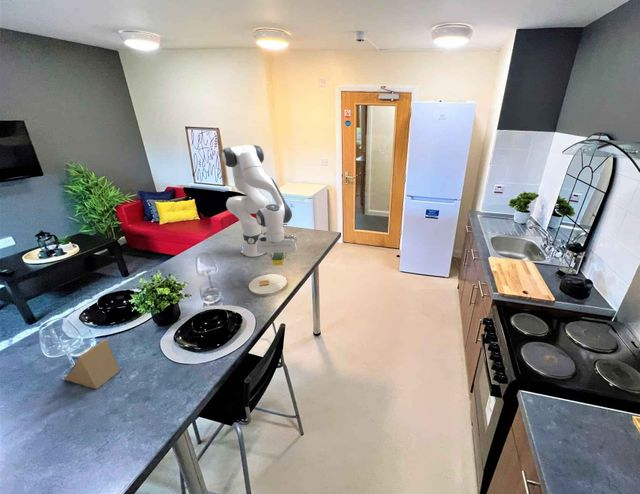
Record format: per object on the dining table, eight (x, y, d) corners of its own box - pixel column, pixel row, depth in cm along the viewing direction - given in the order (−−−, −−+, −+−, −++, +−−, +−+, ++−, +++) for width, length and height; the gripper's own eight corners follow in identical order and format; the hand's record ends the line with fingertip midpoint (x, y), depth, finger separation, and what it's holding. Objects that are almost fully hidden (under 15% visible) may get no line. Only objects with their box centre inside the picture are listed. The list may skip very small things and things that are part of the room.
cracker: (260, 281, 160) (259, 280, 159) (268, 280, 161) (268, 279, 160) (259, 286, 156) (259, 285, 155) (268, 285, 157) (268, 283, 157)
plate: (253, 277, 167) (253, 274, 166) (289, 275, 169) (288, 273, 169) (245, 297, 149) (244, 294, 148) (284, 295, 151) (284, 292, 151)
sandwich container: (89, 360, 109) (74, 330, 103) (121, 369, 106) (107, 338, 100) (63, 379, 102) (44, 347, 95) (96, 389, 98) (79, 356, 92)
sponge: (275, 258, 159) (274, 251, 158) (284, 258, 160) (283, 251, 158) (273, 265, 152) (272, 258, 150) (282, 265, 153) (281, 257, 151)
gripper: (296, 233, 154) (298, 256, 160) (257, 234, 151) (260, 257, 157) (295, 237, 148) (297, 261, 154) (254, 238, 146) (258, 262, 151)
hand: (278, 259), depth 155 cm, fingers closed on sponge, 5 cm apart
